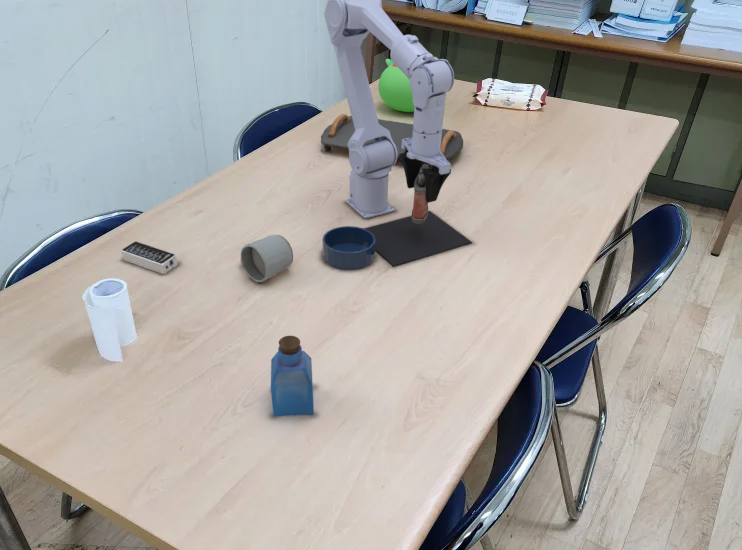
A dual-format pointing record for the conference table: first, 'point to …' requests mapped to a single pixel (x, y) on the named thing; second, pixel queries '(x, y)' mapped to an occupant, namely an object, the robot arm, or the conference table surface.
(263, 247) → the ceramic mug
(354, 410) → the conference table surface
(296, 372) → the perfume bottle
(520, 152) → the conference table surface
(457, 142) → the serving tray
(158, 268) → the multiport hub
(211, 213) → the conference table surface
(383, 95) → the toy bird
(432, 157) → the robot arm
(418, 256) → the desk mat
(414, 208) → the lighter
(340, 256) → the blue round dish
